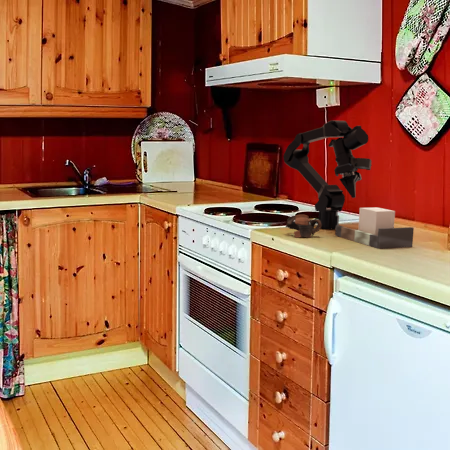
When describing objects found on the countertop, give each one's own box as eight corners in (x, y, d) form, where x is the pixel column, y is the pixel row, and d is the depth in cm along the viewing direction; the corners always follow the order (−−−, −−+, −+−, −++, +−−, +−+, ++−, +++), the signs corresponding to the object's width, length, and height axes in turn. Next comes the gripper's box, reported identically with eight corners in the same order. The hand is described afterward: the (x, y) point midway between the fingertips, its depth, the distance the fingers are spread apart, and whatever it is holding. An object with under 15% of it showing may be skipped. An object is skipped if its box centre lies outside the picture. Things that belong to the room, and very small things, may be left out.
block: (358, 232, 204) (359, 207, 203) (375, 231, 206) (377, 207, 205) (375, 236, 196) (376, 211, 194) (393, 236, 198) (395, 211, 197)
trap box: (335, 235, 211) (336, 217, 210) (365, 234, 216) (366, 216, 215) (379, 248, 189) (380, 229, 189) (412, 246, 194) (413, 227, 193)
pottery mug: (285, 239, 204) (282, 216, 207) (291, 247, 213) (287, 225, 216) (322, 232, 202) (318, 208, 204) (326, 240, 210) (322, 218, 213)
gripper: (362, 141, 207) (373, 187, 204) (370, 154, 224) (380, 195, 221) (329, 151, 210) (340, 195, 207) (340, 162, 228) (349, 203, 225)
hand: (353, 197), depth 215 cm, fingers closed
